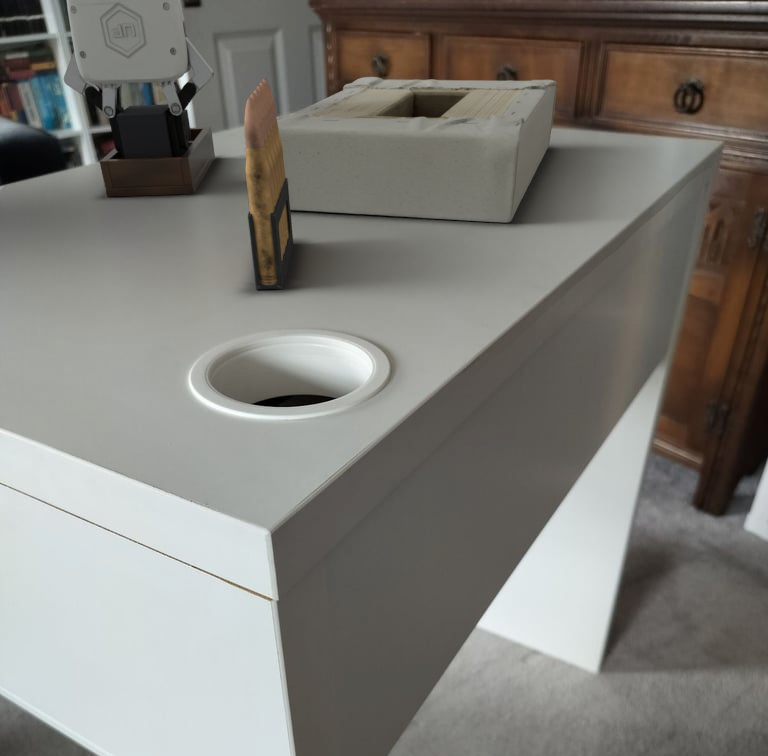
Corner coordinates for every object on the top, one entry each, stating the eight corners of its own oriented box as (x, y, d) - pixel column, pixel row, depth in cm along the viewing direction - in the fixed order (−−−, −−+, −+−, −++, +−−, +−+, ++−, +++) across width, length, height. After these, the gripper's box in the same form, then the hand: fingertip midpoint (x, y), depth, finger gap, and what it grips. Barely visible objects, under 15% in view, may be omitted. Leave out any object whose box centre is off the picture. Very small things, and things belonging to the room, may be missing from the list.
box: (518, 227, 66) (552, 146, 91) (524, 127, 62) (558, 70, 87) (264, 218, 72) (361, 144, 97) (252, 125, 67) (357, 72, 92)
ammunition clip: (270, 243, 64) (253, 76, 57) (293, 243, 64) (278, 76, 57) (256, 290, 55) (232, 99, 48) (282, 289, 55) (262, 99, 48)
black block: (127, 166, 77) (116, 115, 75) (138, 154, 82) (129, 105, 79) (171, 164, 77) (162, 113, 75) (180, 153, 82) (172, 104, 79)
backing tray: (107, 197, 77) (99, 161, 76) (141, 160, 91) (135, 129, 89) (193, 193, 78) (188, 158, 76) (215, 158, 91) (211, 127, 89)
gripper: (1, -62, 66) (60, 169, 76) (202, -69, 66) (233, 162, 77) (30, -61, 72) (81, 153, 82) (214, -68, 72) (241, 147, 83)
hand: (154, 155), depth 79 cm, fingers closed on black block, 4 cm apart
